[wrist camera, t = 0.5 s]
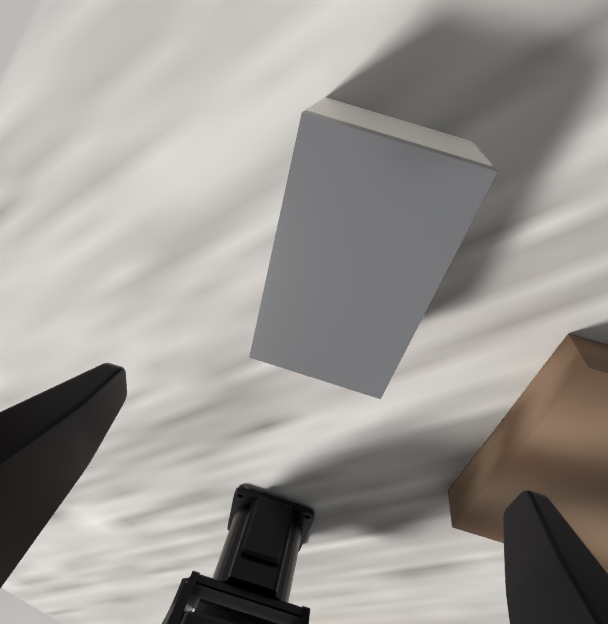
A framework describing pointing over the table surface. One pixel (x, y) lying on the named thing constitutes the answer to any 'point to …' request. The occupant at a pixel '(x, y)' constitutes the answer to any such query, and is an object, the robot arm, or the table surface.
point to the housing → (363, 242)
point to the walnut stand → (547, 451)
